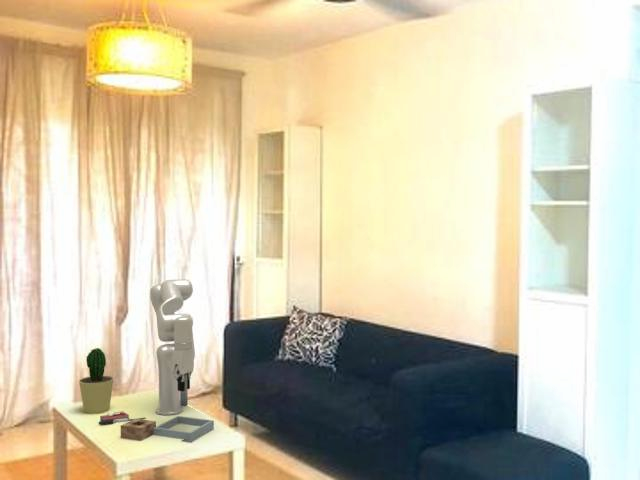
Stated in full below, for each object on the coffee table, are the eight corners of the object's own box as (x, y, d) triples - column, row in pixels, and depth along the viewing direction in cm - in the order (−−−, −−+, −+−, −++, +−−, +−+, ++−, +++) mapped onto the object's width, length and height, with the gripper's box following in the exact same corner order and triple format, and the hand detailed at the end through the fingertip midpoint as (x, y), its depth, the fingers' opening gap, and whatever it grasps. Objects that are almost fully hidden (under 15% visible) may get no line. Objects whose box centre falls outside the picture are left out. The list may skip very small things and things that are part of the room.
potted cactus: (100, 404, 320) (99, 342, 319) (120, 409, 311) (120, 346, 310) (72, 411, 308) (71, 347, 307) (92, 417, 299) (91, 351, 298)
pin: (182, 403, 279) (182, 368, 278) (191, 404, 277) (191, 369, 277) (176, 406, 274) (175, 370, 274) (185, 407, 273) (185, 371, 272)
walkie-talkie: (99, 428, 285) (146, 422, 293) (99, 417, 284) (146, 412, 292) (97, 422, 293) (143, 416, 301) (97, 412, 292) (143, 407, 300)
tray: (178, 424, 288) (178, 415, 288) (213, 429, 281) (213, 420, 281) (153, 437, 271) (153, 427, 271) (190, 442, 264) (190, 433, 264)
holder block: (136, 432, 277) (136, 418, 277) (156, 435, 273) (156, 421, 273) (120, 440, 268) (120, 425, 267) (141, 443, 264) (140, 428, 264)
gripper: (186, 342, 284) (187, 384, 285) (164, 349, 269) (164, 393, 269) (201, 343, 281) (202, 386, 282) (179, 350, 266) (180, 395, 267)
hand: (183, 389), depth 276 cm, fingers closed on pin, 3 cm apart
